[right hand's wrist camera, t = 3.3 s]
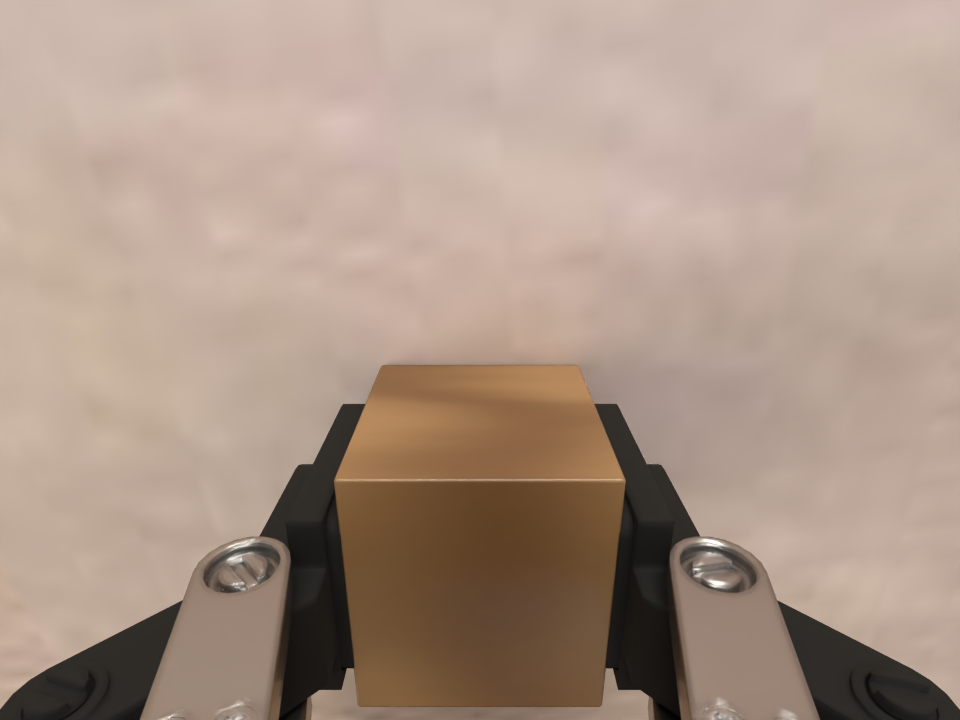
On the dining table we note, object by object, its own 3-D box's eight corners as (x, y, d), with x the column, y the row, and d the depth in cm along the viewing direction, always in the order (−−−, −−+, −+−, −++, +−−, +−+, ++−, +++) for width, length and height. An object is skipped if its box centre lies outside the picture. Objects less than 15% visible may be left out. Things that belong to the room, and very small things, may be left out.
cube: (392, 540, 13) (357, 708, 10) (381, 364, 12) (332, 479, 8) (567, 540, 13) (602, 708, 10) (579, 364, 12) (627, 479, 8)
